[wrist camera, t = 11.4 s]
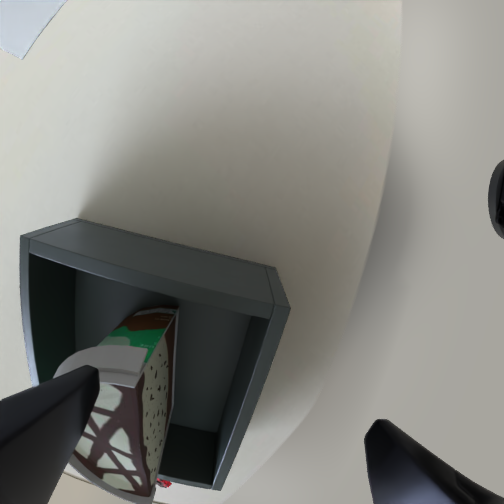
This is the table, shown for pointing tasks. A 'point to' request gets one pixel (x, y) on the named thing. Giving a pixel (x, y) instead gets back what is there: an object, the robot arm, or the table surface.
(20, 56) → the milk
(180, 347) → the storage box
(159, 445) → the cake slice
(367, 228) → the table surface
